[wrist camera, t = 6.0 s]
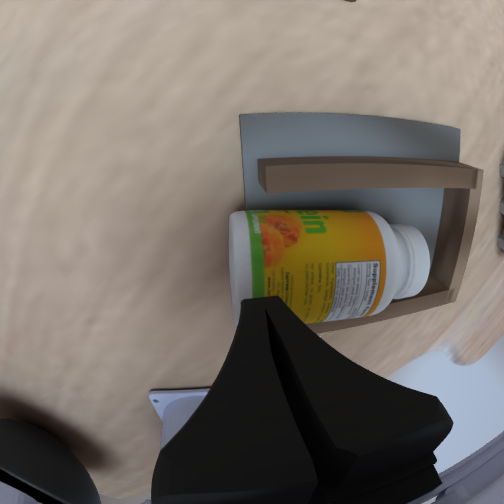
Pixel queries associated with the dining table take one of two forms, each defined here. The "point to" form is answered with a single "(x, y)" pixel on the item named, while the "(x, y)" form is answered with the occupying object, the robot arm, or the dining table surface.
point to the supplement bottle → (324, 261)
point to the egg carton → (503, 237)
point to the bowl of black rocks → (42, 466)
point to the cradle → (369, 186)
